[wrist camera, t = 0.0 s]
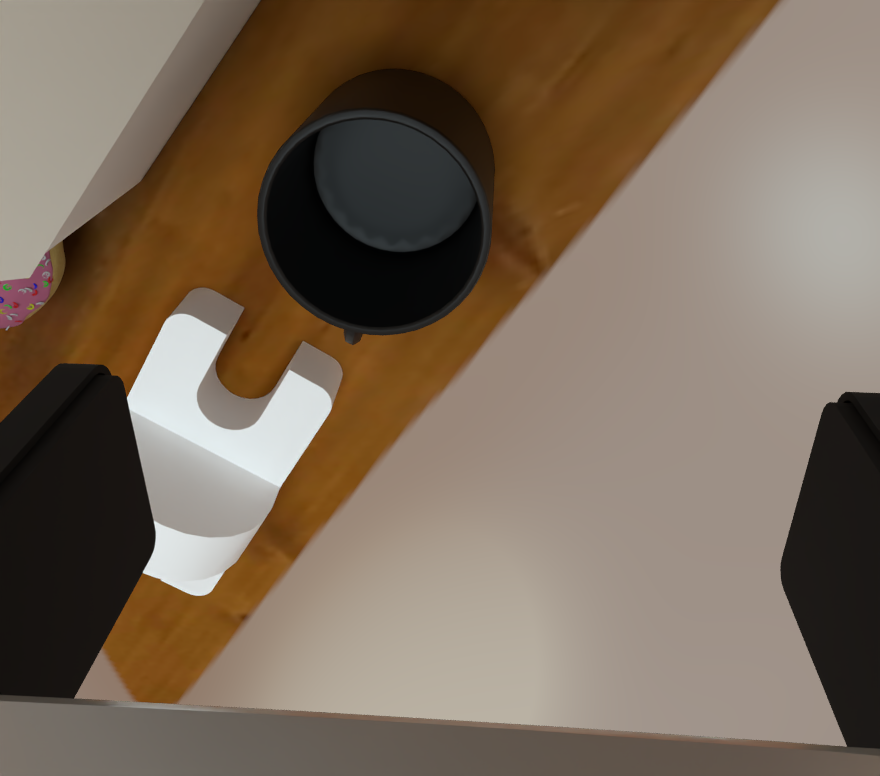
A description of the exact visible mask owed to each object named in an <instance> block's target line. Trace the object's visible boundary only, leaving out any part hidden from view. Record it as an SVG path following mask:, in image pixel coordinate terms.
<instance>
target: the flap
mask: <svg viewBox="0 0 880 776" xmlns="http://www.w3.org/2000/svg"><path fill="white" fill-rule="evenodd" d="M203 2H204V0H0V281H5V280H14V279H24V278H30V277H31V275H32V273H33V272H34V270H35V269H36V267H37V265H38V264H39V262H40V261H41V259H42V258H43V256H44V254H45V253H46V251H47V250H48V248H49V246H50V245H51V243H52V242H53V240H54V238H55V237H56V235H57V234H58V232H59V231H60V229H61V227H62V226H63V224H64V223H65V221H66V219H67V218H68V216H69V215H70V213H71V211H72V210H73V208H74V207H75V205H76V204H77V202H78V200H79V199H80V197H81V196H82V194H83V192H84V191H85V189H86V188H87V186H88V184H89V183H90V181H91V180H92V178H93V177H94V175H95V173H96V172H97V170H98V169H99V167H100V165H101V164H102V162H103V161H104V159H105V157H106V156H107V154H108V153H109V151H110V150H111V148H112V146H113V145H114V143H115V142H116V140H117V138H118V137H119V135H120V134H121V132H122V130H123V129H124V127H125V126H126V124H127V122H128V121H129V119H130V118H131V116H132V115H133V113H134V111H135V110H136V108H137V107H138V105H139V103H140V102H141V100H142V99H143V97H144V95H145V94H146V92H147V91H148V89H149V88H150V86H151V84H152V83H153V81H154V80H155V78H156V76H157V75H158V73H159V72H160V70H161V68H162V67H163V65H164V64H165V62H166V61H167V59H168V57H169V56H170V54H171V53H172V51H173V49H174V48H175V46H176V45H177V43H178V41H179V40H180V38H181V37H182V35H183V34H184V32H185V30H186V29H187V27H188V26H189V24H190V22H191V21H192V19H193V18H194V16H195V14H196V13H197V11H198V10H199V8H200V7H201V5H202V3H203Z"/></svg>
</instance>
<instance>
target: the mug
mask: <svg viewBox="0 0 880 776" xmlns="http://www.w3.org/2000/svg"><path fill="white" fill-rule="evenodd" d="M494 173H495V166H494V156H493V150H492V146H491V142H490V138H489V136H488V134H487V131H486V129H485V127H484V125H483V123H482V121H481V119H480V118H479V116H478V115H477V113H476V111H475V110H474V109H473V108H472V106H471V105H470V104H469V103H468V102H467V101H466V100H465V99H464V98H463V97H462V96H461V95H460V94H459V93H458V92H456V91H455V90H454V89H453V88H452V87H450V86H448V85H447V84H445V83H443V82H442V81H440V80H438V79H436V78H434V77H431V76H428V75H426V74H423V73H420V72H415V71H410V70H403V69H386V70H378V71H373V72H369V73H366V74H362V75H359V76H357V77H355V78H353V79H351V80H349V81H347V82H346V83H344V84H342V85H341V86H340V87H338V88H337V89H336V90H334V91H333V92H332V93H331V94H330V95H329V96H328V97H327V98H326V99H325V100H324V101H323V102H322V103H321V105H320V106H319V107H318V108H317V109H316V110H315V111H314V112H313V113H312V114H311V115H310V116H309V117H308V118H307V119H306V121H305V122H304V123H303V124H302V125H301V126H300V127H299V128H298V129H297V130H296V131H295V132H294V133H293V134H292V135H291V137H290V138H289V139H288V140H287V141H286V142H285V143H284V144H283V145H282V146H281V148H280V149H279V150H278V152H277V153H276V155H275V156H274V158H273V159H272V161H271V162H270V164H269V166H268V169H267V171H266V173H265V176H264V178H263V181H262V185H261V189H260V193H259V197H258V210H257V219H258V230H259V236H260V240H261V244H262V248H263V251H264V254H265V256H266V258H267V261H268V263H269V266H270V268H271V269H272V271H273V273H274V274H275V276H276V278H277V279H278V281H279V282H280V283H281V285H282V286H283V287H284V288H285V290H286V291H287V292H288V293H289V295H290V296H291V297H292V298H293V299H295V300H296V301H297V302H298V303H299V304H300V305H301V306H302V307H304V308H305V309H306V310H308V311H309V312H310V313H312V314H313V315H315V316H316V317H318V318H320V319H322V320H324V321H325V322H327V323H329V324H332V325H334V326H336V327H339V328H342V329H344V336H345V341H346V342H348V343H350V344H352V345H354V344H356V343H357V342H359V341H360V340H361V337H362V334H369V335H393V334H401V333H406V332H410V331H414V330H418V329H420V328H423V327H425V326H428V325H430V324H432V323H434V322H436V321H438V320H439V319H441V318H443V317H444V316H446V315H448V314H449V313H450V312H451V311H452V310H454V309H455V308H456V307H457V306H458V305H459V304H460V303H461V302H462V301H463V300H464V299H465V298H466V297H467V296H468V295H469V293H470V292H471V291H472V289H473V288H474V286H475V285H476V283H477V281H478V280H479V278H480V276H481V274H482V271H483V269H484V267H485V264H486V262H487V258H488V254H489V249H490V244H491V233H492V215H493V194H494Z"/></svg>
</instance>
